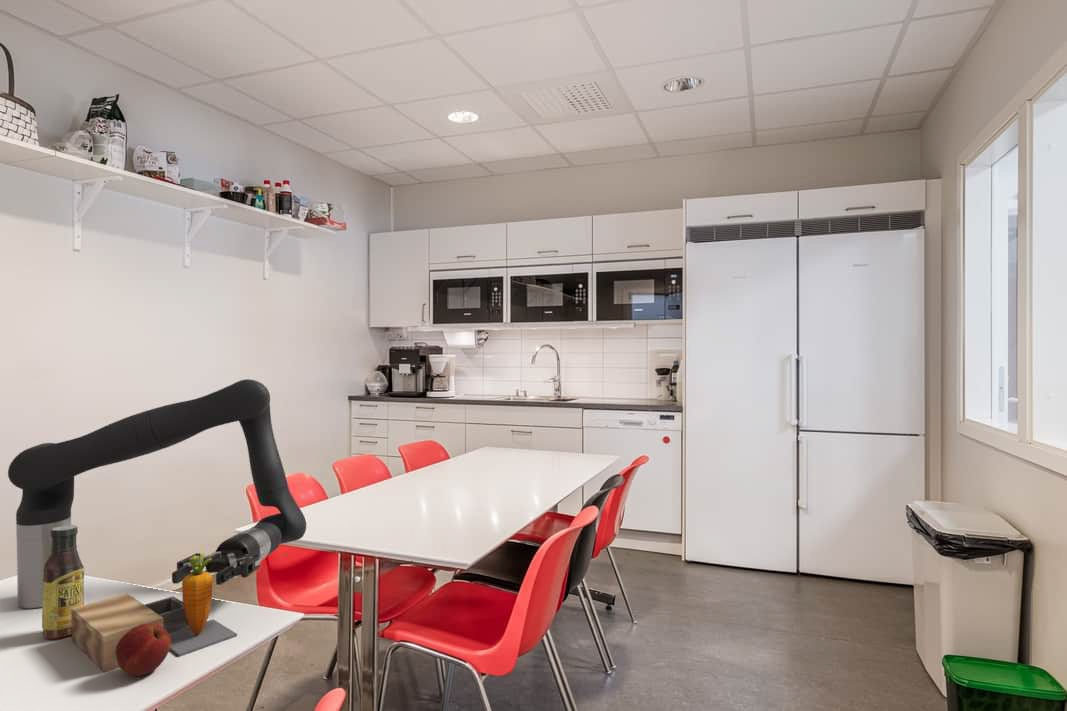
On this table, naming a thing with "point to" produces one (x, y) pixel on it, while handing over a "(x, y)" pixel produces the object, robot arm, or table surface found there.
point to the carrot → (197, 594)
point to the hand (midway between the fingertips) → (196, 579)
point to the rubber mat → (199, 638)
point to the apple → (143, 649)
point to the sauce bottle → (62, 583)
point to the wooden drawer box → (119, 624)
